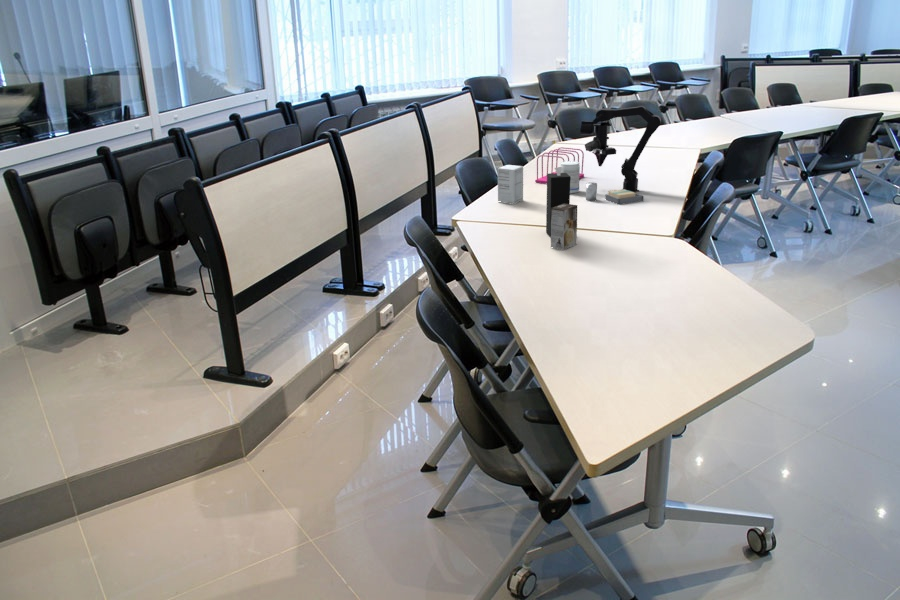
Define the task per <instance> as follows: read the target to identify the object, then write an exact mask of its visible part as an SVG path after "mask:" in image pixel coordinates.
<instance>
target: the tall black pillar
mask: <svg viewBox="0 0 900 600" xmlns="http://www.w3.org/2000/svg"><path fill="white" fill-rule="evenodd" d="M554 170H555V172H557V173H551V172H550V173H548V174H547V173H546V175H547V184H546V218H545V219H546V221H545V222H546V223H545V225H546V226H545V228H546V229H545V232H546V234H547V236H548V237H549V238H551V208H553V207H555V206H558V205H561V204H564V203H565V204H571V201H570V200H571V193H570V181H571V177H570V176H569V175H568V174H567V173H561V171H562V167H561V166H559V167H558V166H557V168H556V167H554Z"/></svg>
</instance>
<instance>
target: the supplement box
mask: <svg viewBox="0 0 900 600" xmlns="http://www.w3.org/2000/svg"><path fill="white" fill-rule="evenodd" d="M498 201H501V202H507V203H506V204H508V203H511V204H510V205H515V204H517V202H518V203H520V202H522V201H524V166H523V165H514V164H513V165H512V164H506V165H503V166H500V167H498V168H497V202H498ZM519 201H520V202H519ZM501 202H500V203H501Z"/></svg>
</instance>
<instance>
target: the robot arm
mask: <svg viewBox="0 0 900 600" xmlns="http://www.w3.org/2000/svg"><path fill="white" fill-rule="evenodd" d="M633 116H640V117H641V118H642V119H643V120H644V121H646V122H647V124H646V127H645V130H644V133H643V134H642V136H641V138H640V140H639V141H638V143H637V145H636V146H635V149H634V150H633V152H632V154H631V155H630V156H629V158H627V157H625V159H624V162H623V163H622V164H621V167H620V168H621V175H622V176H624V179H623V182H622V189H625V190H629V191H631V192H634V193H637V192H640V189H638V187H639V186H638V185H639V178H638V175H639V173H638V172H637V171H636V169H635V167H636V165H637V162H638V160H639V158H640V156H641V154H642V152H643V151H644V149H645V147H646V146H647V143H648V142H649V140H650V138H651V137H652V135H653V134H654V133H655V132H656V131H657V130H658V128H659V127H660V125H661V123H662V118H661V116H659V115H658V114H654V113H653V112H652V111H650V110H648V109H647V108H646V107H645V106H643V105H639V106H634V107H625V108H617V109H616V108H615V109H613V108H605V107H603V108H599V110H598V111H597V112H596V114H595V118H593V120H581V124H580V128H579V129H580V130H579V131H580V132H579V133H580V136H581V135H583V136H585V135H587V136H590V135H591V136H592V135H593V134H594V133H595V136H593V137H592V138H593V139H592V140H591V141H589V142H587V143H585V144H584V148H585V151H586V152H591V153H592V154H594V156H595V157H596V161H597V164H598V167H602V166H603V164H604V162H605V161H606V158H608V157H607V156H611V155H616V154H617V149H616V148H614V147H610V146H609V144H608V140H610V136H608V129H609V128H608V127H611V126H612V123H611V122H610V120H612V119H616V118H624V117H633Z"/></svg>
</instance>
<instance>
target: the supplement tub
mask: <svg viewBox="0 0 900 600" xmlns="http://www.w3.org/2000/svg"><path fill="white" fill-rule="evenodd" d="M560 167H562V171H561V173H567V174H568V175H569V176H570V177H571V181H570V194H575V193H578V192H579V191H580V179H579V175H580V174H581V173H580V172H581V170H580V167H581V166H580V161H579V162H578V161H576V160H575V161H574V160H573V161H572V160H571V161H570V160H569V161H568V160H566V161H565V162H563V161H562V162H560Z"/></svg>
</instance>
